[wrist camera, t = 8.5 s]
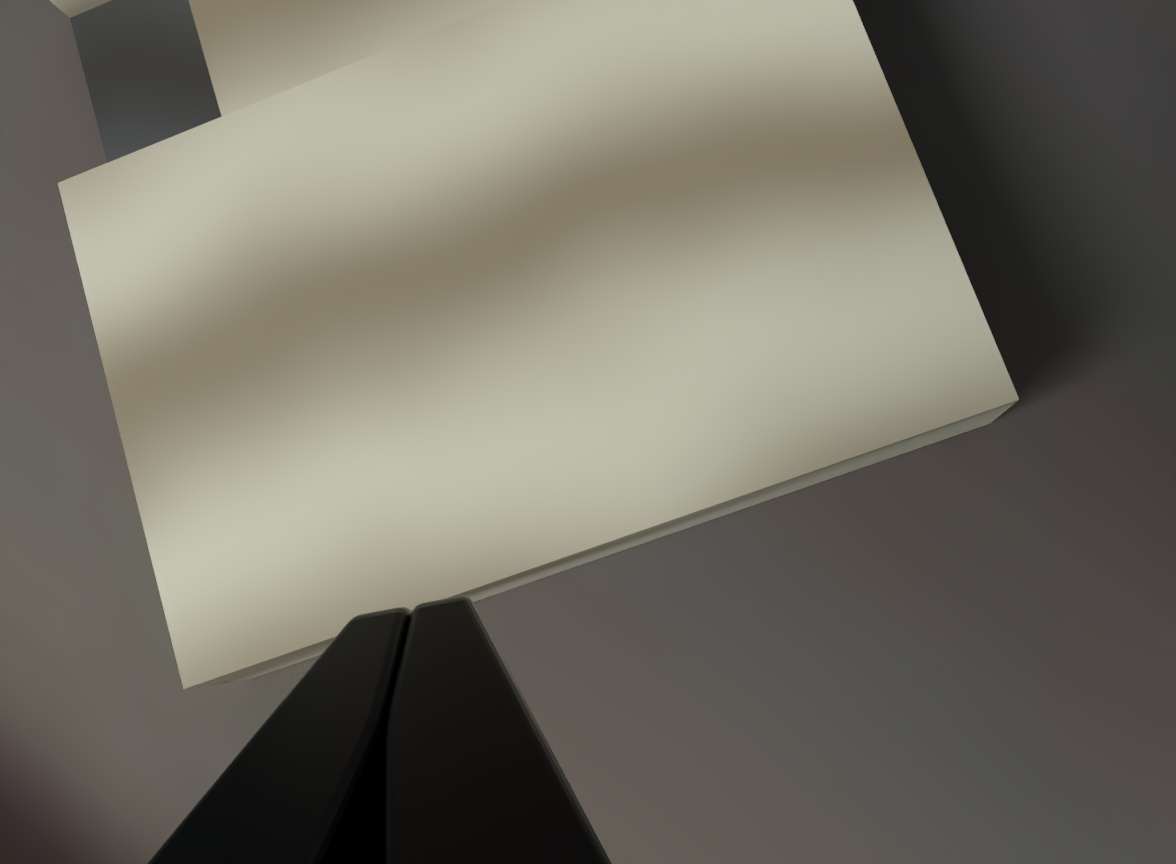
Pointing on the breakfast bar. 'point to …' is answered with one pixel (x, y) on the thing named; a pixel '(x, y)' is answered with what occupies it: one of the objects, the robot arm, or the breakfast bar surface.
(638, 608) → the breakfast bar surface
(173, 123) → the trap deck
